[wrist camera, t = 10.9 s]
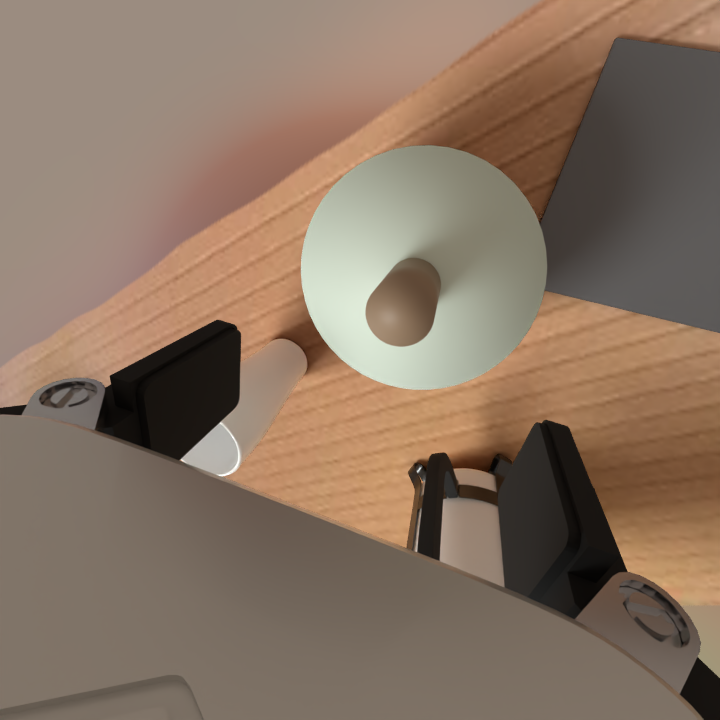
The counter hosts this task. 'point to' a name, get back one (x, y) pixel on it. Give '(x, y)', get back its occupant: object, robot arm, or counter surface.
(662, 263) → the mat
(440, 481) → the coffee press
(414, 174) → the lid
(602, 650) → the robot arm
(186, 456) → the drinking glass
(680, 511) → the counter surface
